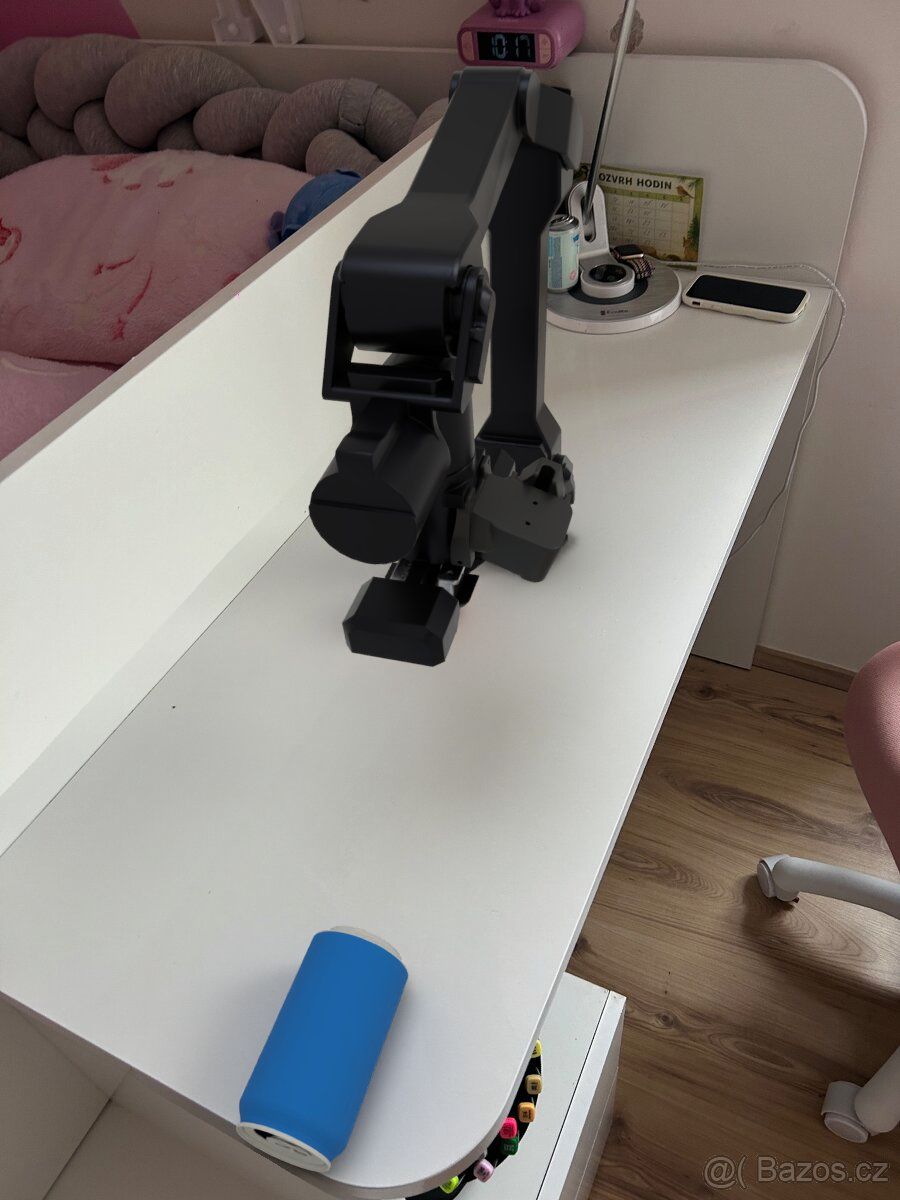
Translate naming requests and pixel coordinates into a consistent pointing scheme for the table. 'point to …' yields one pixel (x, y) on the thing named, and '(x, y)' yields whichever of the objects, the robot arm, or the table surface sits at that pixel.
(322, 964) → the beverage can
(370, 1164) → the table surface
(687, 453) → the table surface
